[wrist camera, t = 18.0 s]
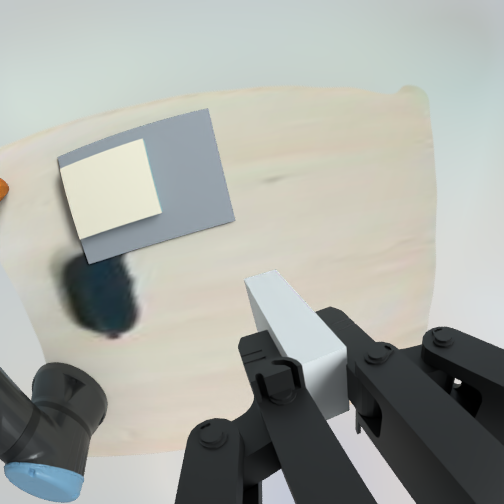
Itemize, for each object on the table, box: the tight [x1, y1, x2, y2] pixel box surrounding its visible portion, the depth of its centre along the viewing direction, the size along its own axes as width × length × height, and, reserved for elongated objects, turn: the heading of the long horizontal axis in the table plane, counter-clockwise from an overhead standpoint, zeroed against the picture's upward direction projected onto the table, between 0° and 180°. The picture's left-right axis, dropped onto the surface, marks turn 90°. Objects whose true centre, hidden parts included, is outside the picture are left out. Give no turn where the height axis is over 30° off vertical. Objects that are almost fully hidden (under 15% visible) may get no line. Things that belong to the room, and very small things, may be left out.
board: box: [60, 139, 162, 239], centre depth 36 cm, size 2×10×12 cm
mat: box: [58, 108, 235, 264], centre depth 38 cm, size 22×16×1 cm
